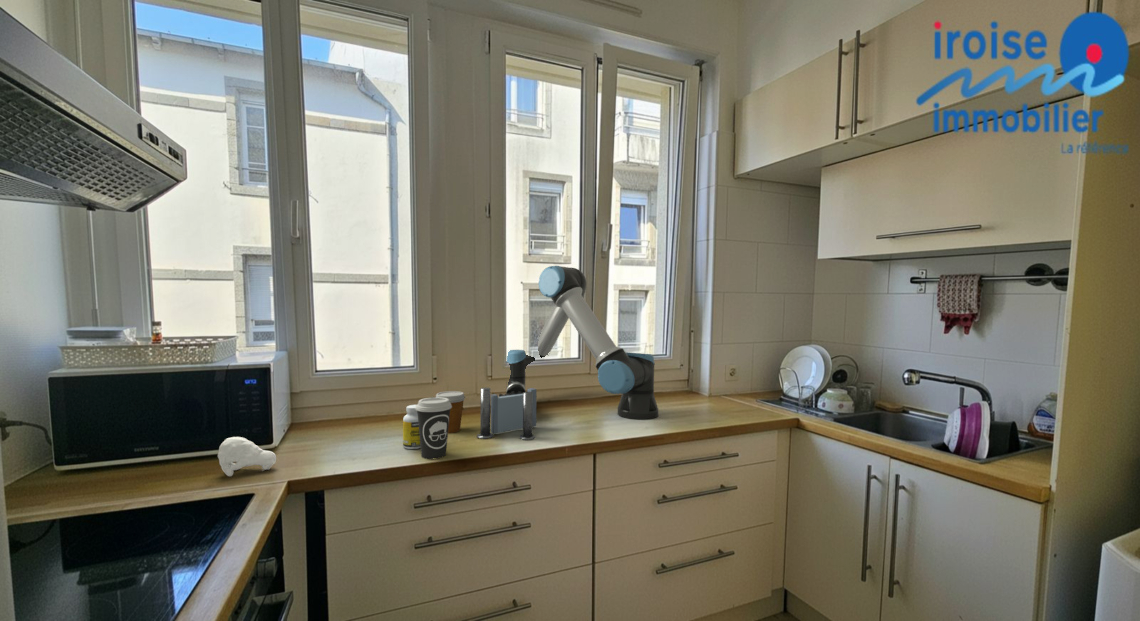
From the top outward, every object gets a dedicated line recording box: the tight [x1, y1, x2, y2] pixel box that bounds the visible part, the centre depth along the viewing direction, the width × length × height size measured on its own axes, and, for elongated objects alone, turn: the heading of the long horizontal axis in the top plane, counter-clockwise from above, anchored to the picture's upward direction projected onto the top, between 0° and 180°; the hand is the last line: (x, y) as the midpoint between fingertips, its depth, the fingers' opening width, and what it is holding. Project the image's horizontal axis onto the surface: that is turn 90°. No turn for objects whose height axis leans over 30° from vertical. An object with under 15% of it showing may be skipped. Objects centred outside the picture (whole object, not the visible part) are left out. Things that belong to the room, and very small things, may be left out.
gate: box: [490, 387, 537, 435], centre depth 151 cm, size 16×2×12 cm, turn 127°
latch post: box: [519, 391, 537, 441], centre depth 144 cm, size 5×5×14 cm
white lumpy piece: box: [217, 436, 277, 477], centre depth 115 cm, size 6×8×12 cm
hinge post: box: [476, 387, 495, 440], centre depth 145 cm, size 5×5×15 cm
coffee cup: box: [415, 396, 452, 460], centre depth 128 cm, size 10×10×15 cm
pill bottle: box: [402, 404, 421, 450], centre depth 135 cm, size 6×6×12 cm
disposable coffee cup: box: [435, 390, 466, 434], centre depth 152 cm, size 10×10×12 cm
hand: (516, 407), depth 157 cm, fingers closed
